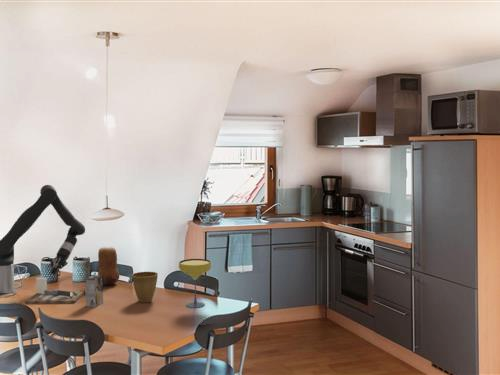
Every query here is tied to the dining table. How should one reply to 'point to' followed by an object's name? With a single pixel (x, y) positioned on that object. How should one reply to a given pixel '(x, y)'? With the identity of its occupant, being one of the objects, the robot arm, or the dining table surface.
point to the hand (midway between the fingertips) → (52, 273)
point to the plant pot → (145, 285)
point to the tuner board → (55, 298)
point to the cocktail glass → (195, 274)
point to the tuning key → (42, 288)
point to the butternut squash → (108, 265)
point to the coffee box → (94, 290)
